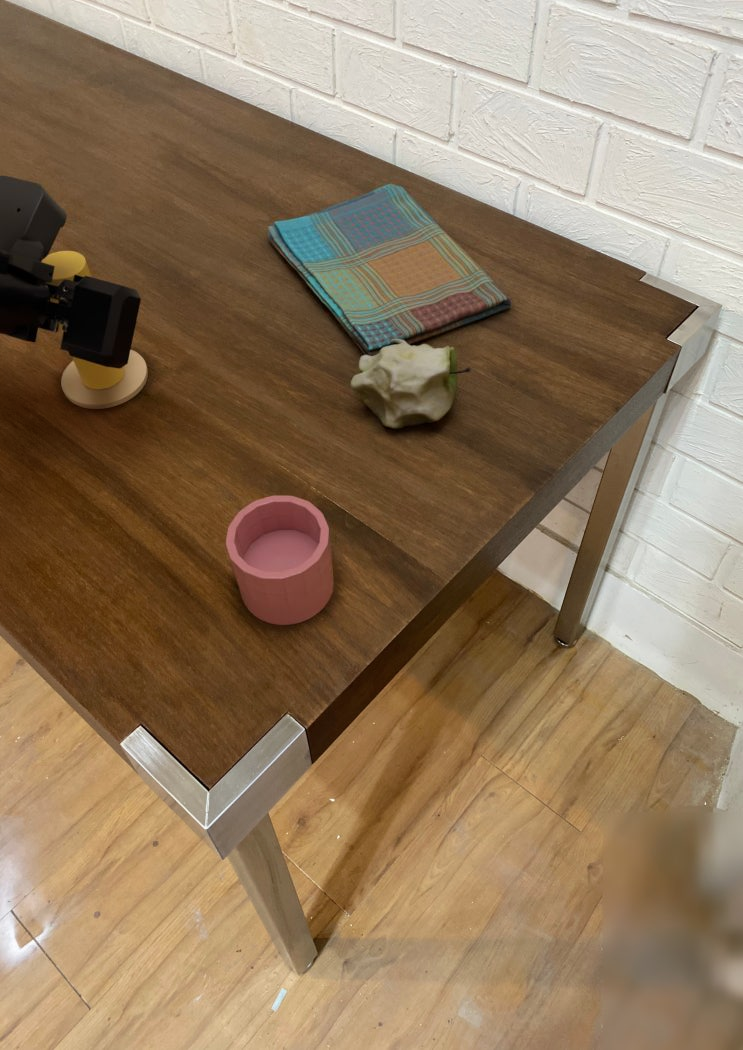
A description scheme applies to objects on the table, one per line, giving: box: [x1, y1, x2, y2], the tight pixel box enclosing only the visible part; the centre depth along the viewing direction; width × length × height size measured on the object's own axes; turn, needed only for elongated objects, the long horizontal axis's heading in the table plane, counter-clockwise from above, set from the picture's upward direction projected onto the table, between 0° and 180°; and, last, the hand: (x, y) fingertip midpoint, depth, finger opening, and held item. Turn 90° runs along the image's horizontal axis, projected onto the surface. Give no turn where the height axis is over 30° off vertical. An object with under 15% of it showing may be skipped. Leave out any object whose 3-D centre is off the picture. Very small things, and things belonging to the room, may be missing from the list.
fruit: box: [350, 339, 472, 430], centre depth 69 cm, size 9×9×8 cm
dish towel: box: [266, 183, 512, 356], centre depth 82 cm, size 17×23×2 cm
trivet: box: [60, 349, 149, 410], centre depth 74 cm, size 8×8×1 cm
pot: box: [225, 495, 335, 626], centre depth 57 cm, size 7×7×6 cm
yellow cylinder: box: [42, 250, 125, 389], centre depth 69 cm, size 4×4×12 cm
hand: (93, 316), depth 70 cm, fingers closed on yellow cylinder, 4 cm apart
